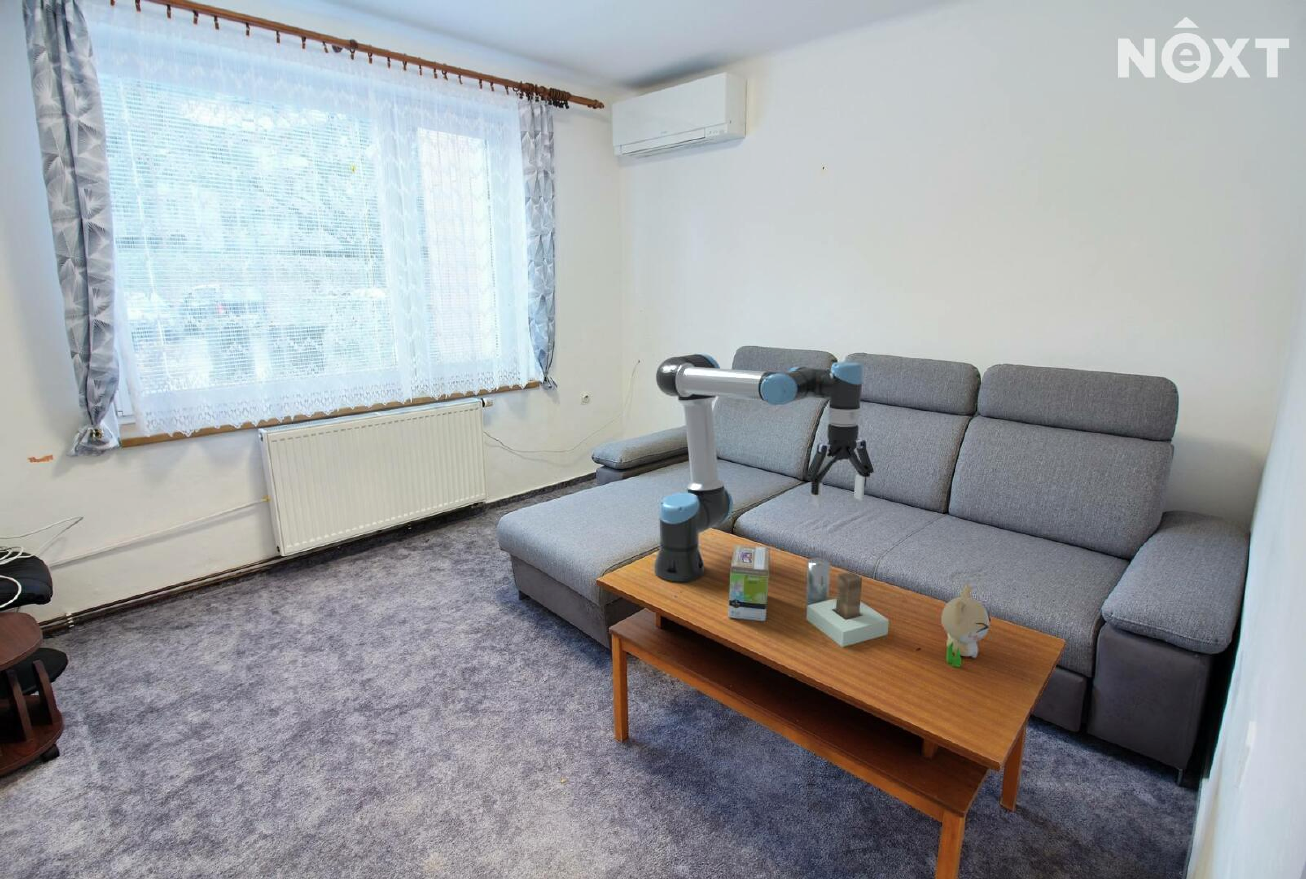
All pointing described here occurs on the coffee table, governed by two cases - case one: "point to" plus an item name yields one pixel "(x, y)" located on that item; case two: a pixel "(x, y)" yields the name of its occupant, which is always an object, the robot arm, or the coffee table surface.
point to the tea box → (749, 582)
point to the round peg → (817, 580)
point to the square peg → (848, 595)
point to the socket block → (847, 623)
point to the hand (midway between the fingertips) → (837, 502)
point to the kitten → (964, 626)
